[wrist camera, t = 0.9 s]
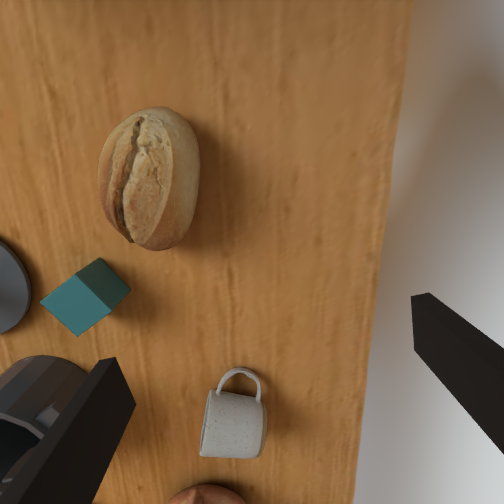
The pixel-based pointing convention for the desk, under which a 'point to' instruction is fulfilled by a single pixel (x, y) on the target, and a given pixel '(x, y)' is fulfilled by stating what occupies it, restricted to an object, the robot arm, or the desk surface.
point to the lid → (12, 289)
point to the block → (86, 297)
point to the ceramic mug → (234, 422)
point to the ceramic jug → (206, 495)
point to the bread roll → (150, 178)
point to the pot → (32, 403)
